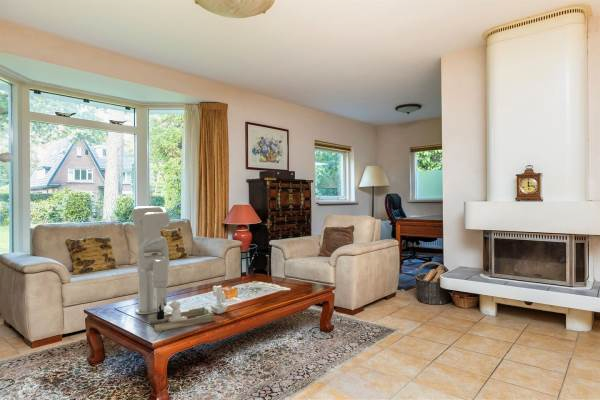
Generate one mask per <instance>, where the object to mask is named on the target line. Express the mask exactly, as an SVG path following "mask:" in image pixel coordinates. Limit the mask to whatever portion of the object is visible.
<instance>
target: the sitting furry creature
mask: <svg viewBox="0 0 600 400" xmlns="http://www.w3.org/2000/svg"><path fill="white" fill-rule="evenodd" d="M168 306H169V307H171V309H172V311H171V314H172V315H171V317H169V319H168V323H169V322H175V321H180V320H186V319H188V317H185V316H183V317H181V312H182V311H181V309H180V307H181V302H180V301H179V300H173V301H172V302H171V303H169V304H168Z"/></svg>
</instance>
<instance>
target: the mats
mask: <svg viewBox="0 0 600 400" xmlns="http://www.w3.org/2000/svg"><path fill="white" fill-rule="evenodd" d="M163 323H164V321H160V322H155V323H150V324H149V325H150V326H151V327H152V328H153V330H154V331H155V325H158V324H163Z"/></svg>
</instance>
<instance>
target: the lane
mask: <svg viewBox="0 0 600 400" xmlns="http://www.w3.org/2000/svg"><path fill="white" fill-rule="evenodd" d="M171 315H172V313H168V314H164V319H161V320H157V315H156V316H150V317H148V324H149V325H151V324H150V323H155V322H160V321H162V322H163V324H158V325H155V330H154V333H157V332H161V331H166V330H172V329H177V328H183V327H189V326H194V325H199V324H204V323H209V322H213V321H214V312H213V311H211V310H210V309H209V308H207V307H206V306H202V307H197V308H196V307H195V308H191V309H188V310H185V311H181V317H183V316H185V317H187V319H186V320H180V321H175V322H169V320H168V319H169V317H171ZM190 317H191V318H190ZM167 321H168V322H167Z"/></svg>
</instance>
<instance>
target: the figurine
mask: <svg viewBox="0 0 600 400" xmlns="http://www.w3.org/2000/svg"><path fill="white" fill-rule="evenodd" d="M222 287H223V285H221V284H220V285H213V286H212V295H213V296H214V297H215V298H216V303H215V304H212V305H210V306H209V307H210V309H211V310H212V313H213V314H218V315H219V314H223V313H225V312H226V311H227V309H228V304H225V303H226V300H227V299H226V293H225V292H222V291H223V288H222Z"/></svg>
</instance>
